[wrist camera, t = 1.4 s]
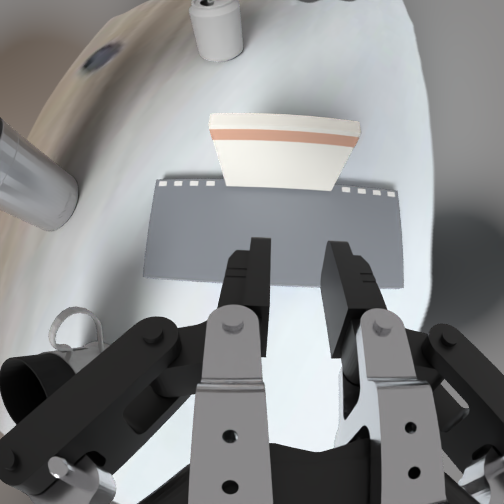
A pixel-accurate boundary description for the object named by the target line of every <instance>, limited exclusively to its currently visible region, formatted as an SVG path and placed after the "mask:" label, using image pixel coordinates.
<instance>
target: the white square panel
mask: <svg viewBox="0 0 504 504" xmlns="http://www.w3.org/2000/svg"><path fill="white" fill-rule="evenodd" d="M209 130H210V133H211V137H212V140H213V142H214V146H215V149H216V152H217V156H218V159H219V163H220V166H221V169H222V173H223V176H224V180H225V183H226V186H240V187H270V188H291V189H308V190H323V191H331V190H332V189H333V187H334V185H335V183H336V181H337V179H338V177H339V175H340V173H341V171H342V170H343V168H344V166H345V164H346V162H347V160H348V158H349V156H350V154H351V152H352V150H353V148H354V147H355V145H356V143H357V141H358V139H359V137H360V135H361V129H360V123H359V122H358V121H351V120H343V119H335V118H325V117H315V116H303V115H288V114H265V113H212V114H210V119H209Z"/></svg>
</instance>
